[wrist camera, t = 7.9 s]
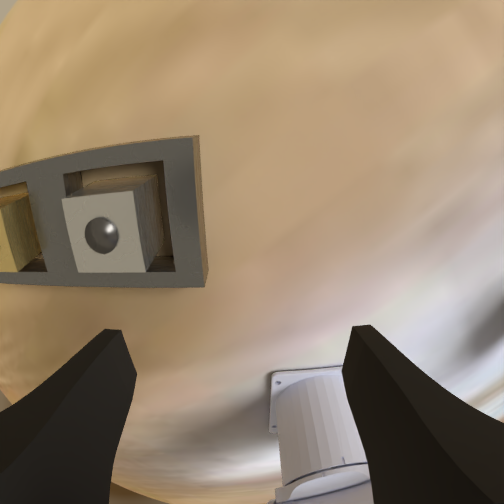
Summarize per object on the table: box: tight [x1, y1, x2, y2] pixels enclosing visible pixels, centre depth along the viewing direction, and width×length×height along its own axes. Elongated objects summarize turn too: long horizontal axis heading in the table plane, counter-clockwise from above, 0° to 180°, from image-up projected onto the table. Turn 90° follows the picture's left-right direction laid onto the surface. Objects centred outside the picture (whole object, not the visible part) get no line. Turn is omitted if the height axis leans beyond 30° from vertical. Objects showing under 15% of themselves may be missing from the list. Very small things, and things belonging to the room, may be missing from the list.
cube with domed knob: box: [62, 175, 165, 273], centre depth 15 cm, size 4×4×4 cm
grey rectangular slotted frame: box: [0, 135, 208, 288], centre depth 15 cm, size 8×18×2 cm, turn 91°
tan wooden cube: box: [0, 192, 42, 272], centre depth 14 cm, size 4×4×4 cm
